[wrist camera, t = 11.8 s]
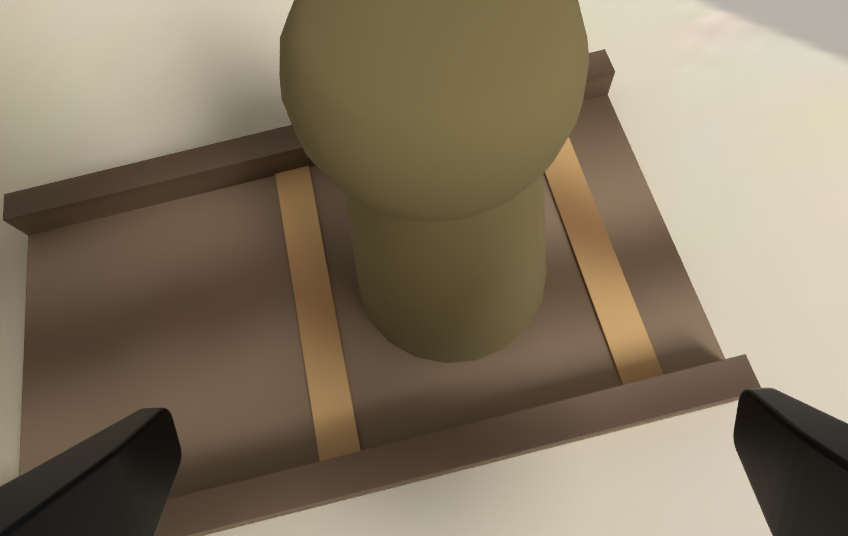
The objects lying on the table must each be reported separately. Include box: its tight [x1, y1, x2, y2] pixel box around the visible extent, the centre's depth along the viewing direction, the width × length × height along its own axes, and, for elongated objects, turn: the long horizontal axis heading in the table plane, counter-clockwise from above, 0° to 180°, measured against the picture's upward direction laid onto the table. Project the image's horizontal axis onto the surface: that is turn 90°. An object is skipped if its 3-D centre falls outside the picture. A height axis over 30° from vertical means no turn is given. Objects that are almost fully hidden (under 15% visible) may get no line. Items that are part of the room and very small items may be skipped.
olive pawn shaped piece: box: [280, 0, 589, 363], centre depth 14 cm, size 6×6×11 cm
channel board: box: [3, 49, 761, 536], centre depth 18 cm, size 12×21×2 cm, turn 103°
